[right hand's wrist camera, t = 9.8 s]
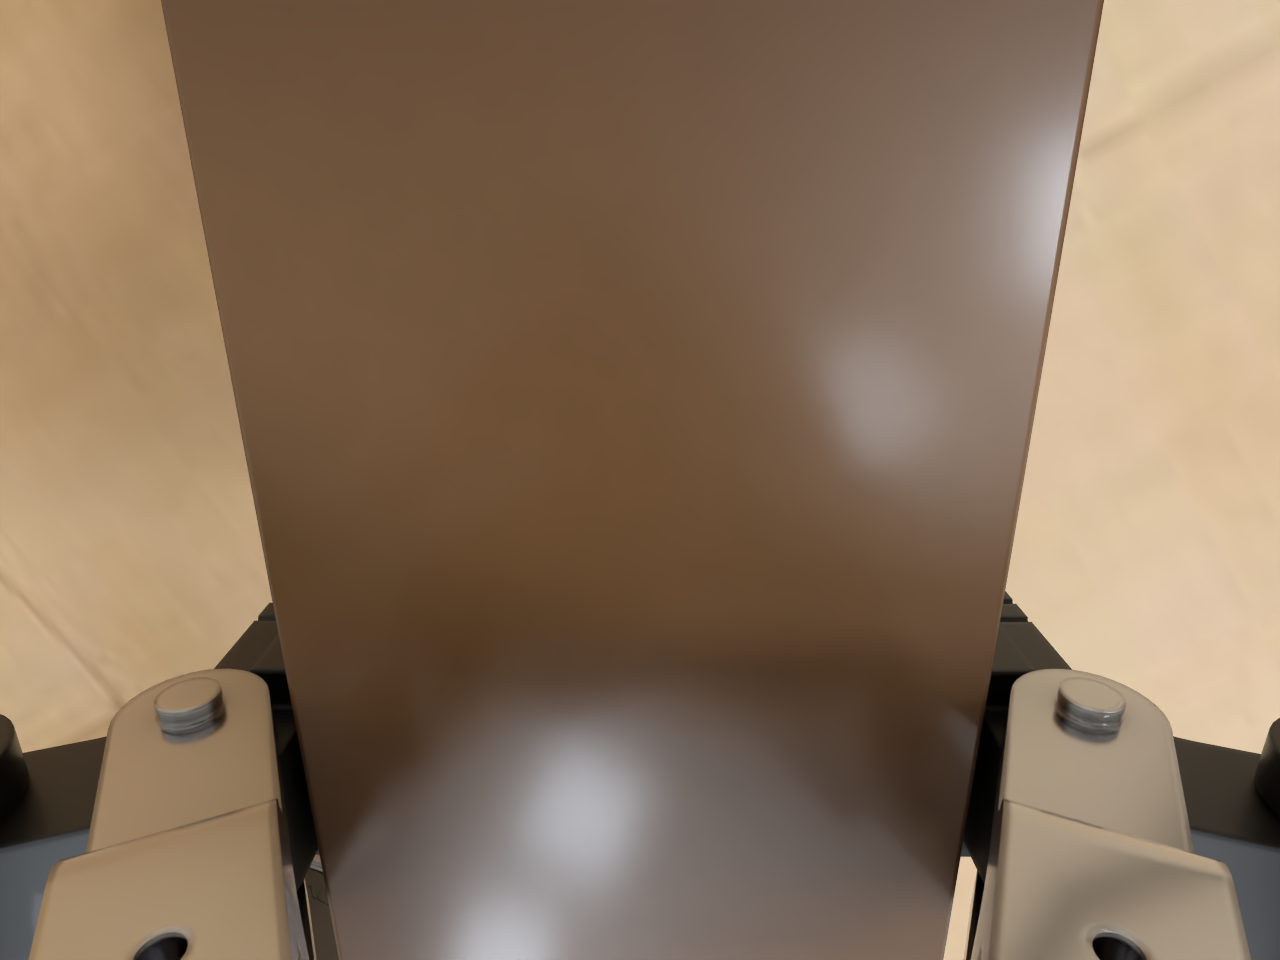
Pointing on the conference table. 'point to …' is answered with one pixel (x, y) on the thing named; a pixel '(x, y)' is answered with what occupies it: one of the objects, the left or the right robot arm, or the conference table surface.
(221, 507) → the conference table surface
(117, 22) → the conference table surface
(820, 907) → the box
